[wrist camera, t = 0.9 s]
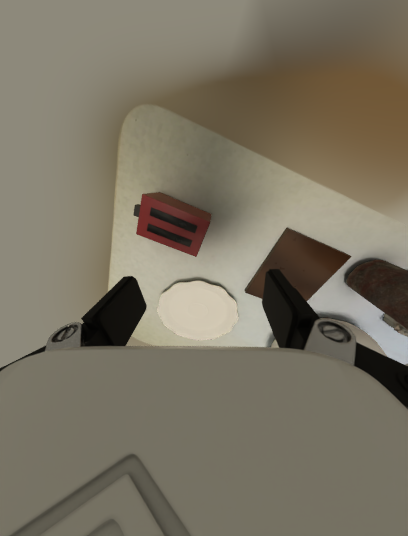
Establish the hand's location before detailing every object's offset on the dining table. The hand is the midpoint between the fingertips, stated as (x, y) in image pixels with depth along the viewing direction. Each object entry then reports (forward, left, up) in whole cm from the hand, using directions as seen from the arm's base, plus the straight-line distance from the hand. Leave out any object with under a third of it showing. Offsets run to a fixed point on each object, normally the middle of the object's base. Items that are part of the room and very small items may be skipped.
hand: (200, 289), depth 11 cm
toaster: (+1, -6, -20) cm, 21 cm away
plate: (+22, +5, -20) cm, 30 cm away
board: (+3, +20, -20) cm, 29 cm away
